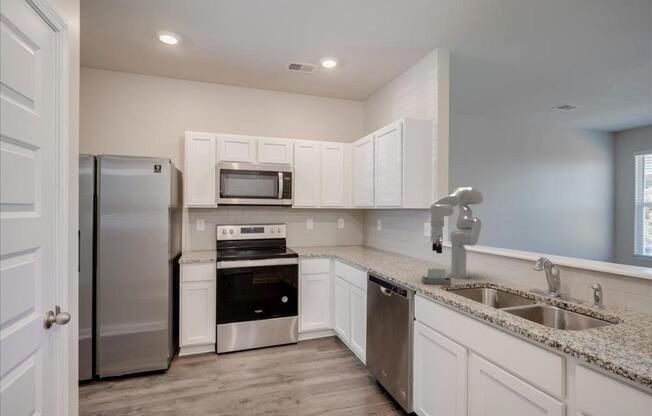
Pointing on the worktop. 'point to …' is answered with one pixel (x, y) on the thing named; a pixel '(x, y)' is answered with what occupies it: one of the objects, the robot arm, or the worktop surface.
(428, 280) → the door track
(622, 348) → the worktop surface
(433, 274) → the door panel
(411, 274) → the worktop surface
